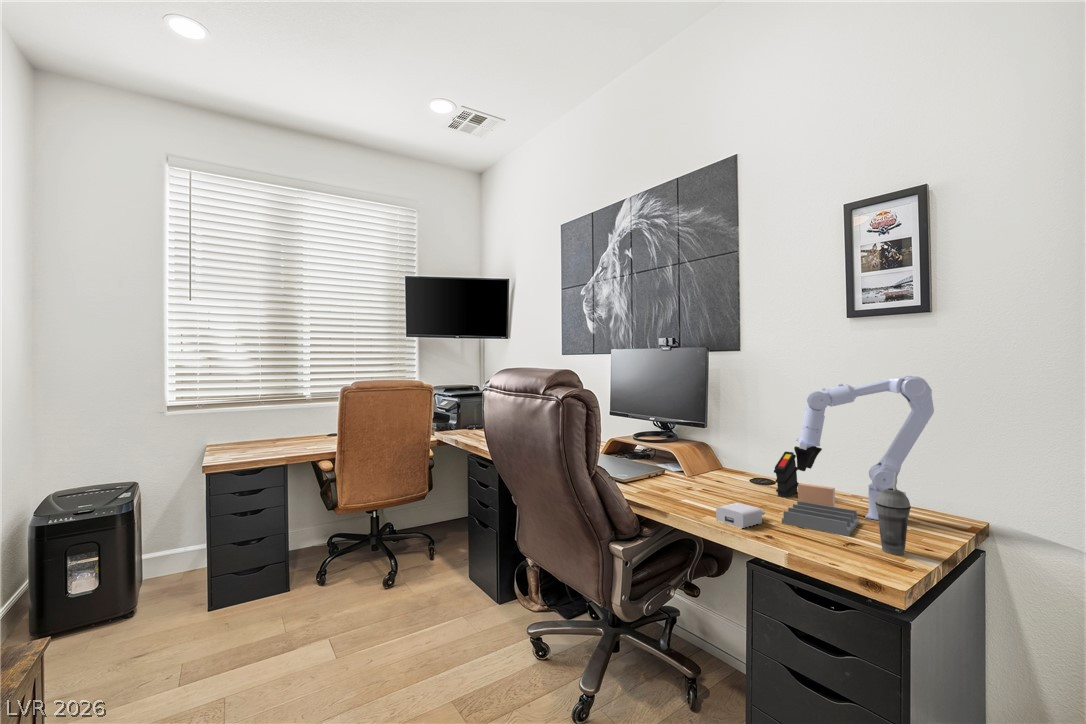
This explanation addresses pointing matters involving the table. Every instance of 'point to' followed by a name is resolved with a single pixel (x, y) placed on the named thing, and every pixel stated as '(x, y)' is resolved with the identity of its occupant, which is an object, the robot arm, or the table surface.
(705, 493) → the table surface
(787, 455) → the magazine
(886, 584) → the table surface
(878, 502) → the beverage cup
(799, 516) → the rack
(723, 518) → the charger
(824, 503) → the plate
